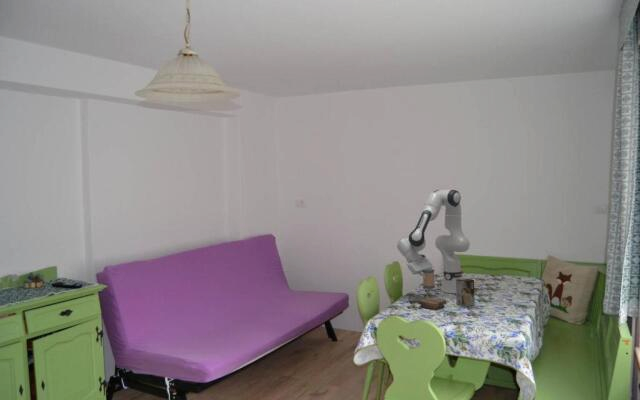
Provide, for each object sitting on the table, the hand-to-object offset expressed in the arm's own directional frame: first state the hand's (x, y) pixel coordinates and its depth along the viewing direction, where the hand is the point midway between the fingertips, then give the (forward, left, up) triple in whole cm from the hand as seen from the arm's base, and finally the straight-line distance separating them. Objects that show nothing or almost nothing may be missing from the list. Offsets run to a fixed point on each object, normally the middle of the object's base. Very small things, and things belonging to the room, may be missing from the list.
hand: (428, 276), depth 320 cm
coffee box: (-7, +22, -16) cm, 28 cm away
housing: (0, 0, -7) cm, 7 cm away
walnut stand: (+10, +9, -16) cm, 21 cm away
